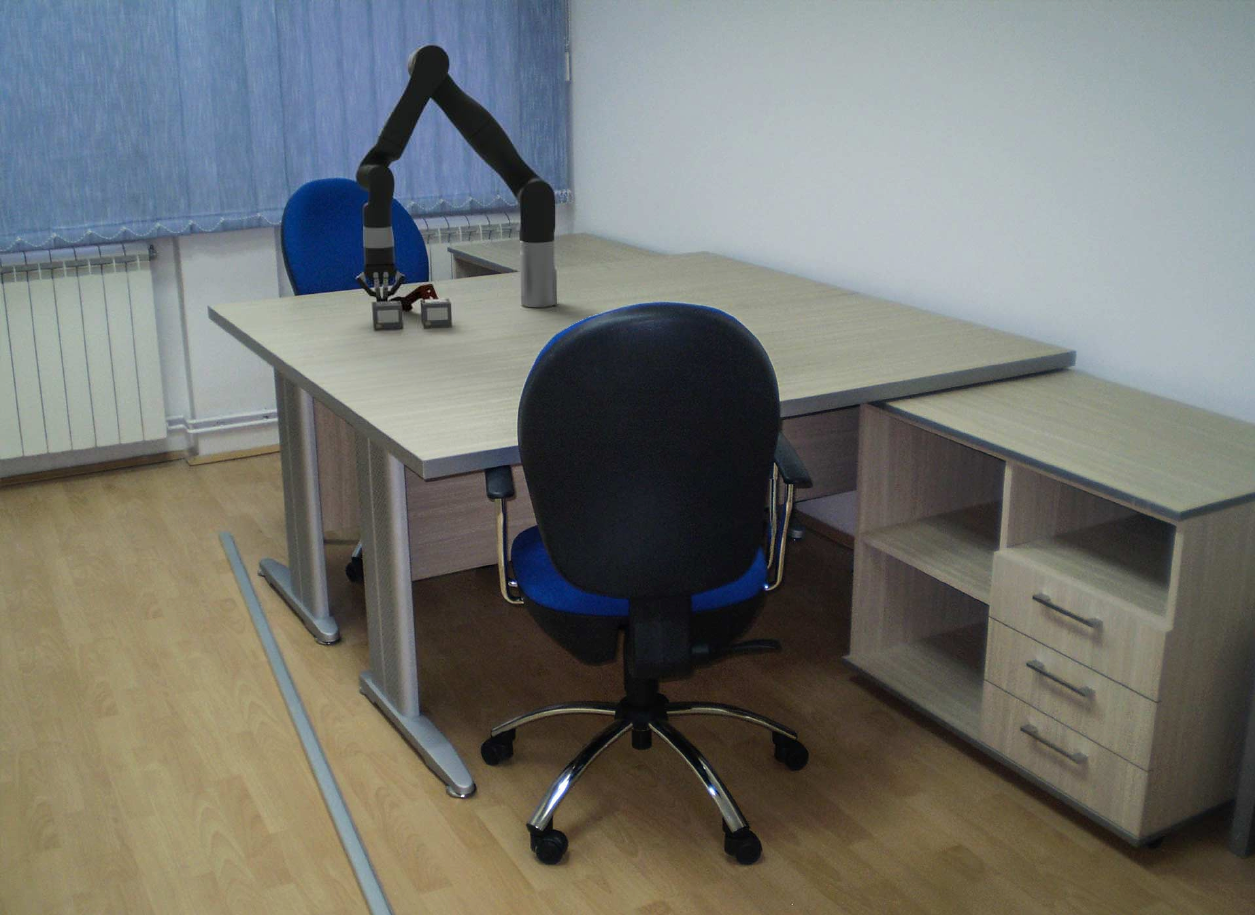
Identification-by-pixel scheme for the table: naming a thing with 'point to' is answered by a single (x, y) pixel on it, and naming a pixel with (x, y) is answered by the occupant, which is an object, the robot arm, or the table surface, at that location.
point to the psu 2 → (436, 313)
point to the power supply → (387, 315)
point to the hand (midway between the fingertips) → (382, 312)
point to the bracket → (416, 296)
